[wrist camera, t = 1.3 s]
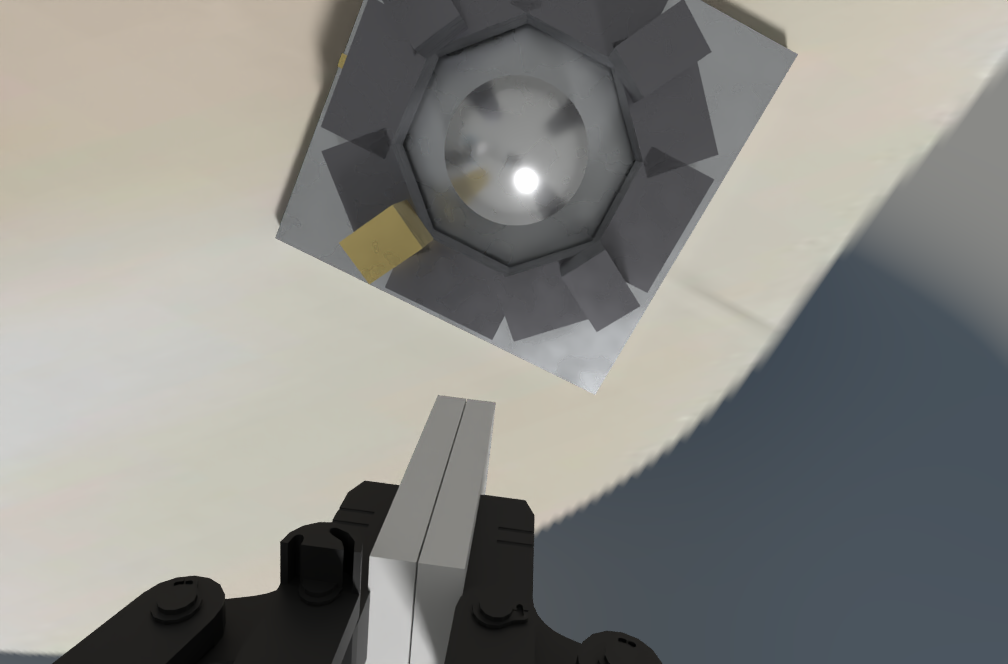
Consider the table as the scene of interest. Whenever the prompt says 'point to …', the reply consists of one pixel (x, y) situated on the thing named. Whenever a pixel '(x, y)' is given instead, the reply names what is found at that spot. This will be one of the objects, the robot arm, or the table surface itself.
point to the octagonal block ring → (553, 278)
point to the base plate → (538, 163)
